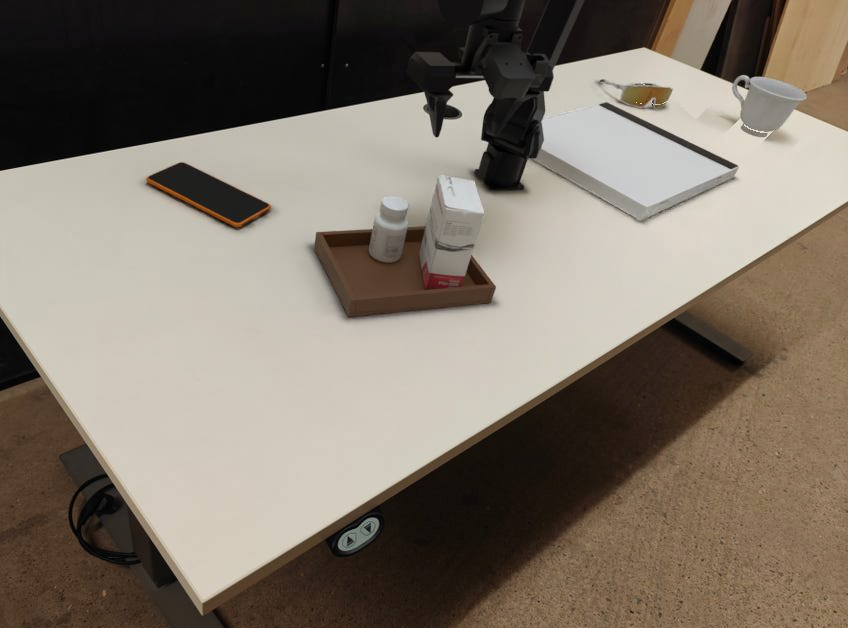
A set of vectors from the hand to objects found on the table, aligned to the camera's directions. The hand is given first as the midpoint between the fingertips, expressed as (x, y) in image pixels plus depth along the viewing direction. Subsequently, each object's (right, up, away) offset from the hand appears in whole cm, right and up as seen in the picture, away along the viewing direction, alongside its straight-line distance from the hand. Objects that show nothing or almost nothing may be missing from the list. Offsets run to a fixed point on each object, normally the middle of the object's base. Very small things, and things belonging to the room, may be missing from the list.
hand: (465, 135), depth 91 cm
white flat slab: (+34, +7, +35) cm, 49 cm away
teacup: (+72, +21, +60) cm, 96 cm away
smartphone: (-36, -8, +2) cm, 37 cm away
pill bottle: (-11, -17, -2) cm, 20 cm away
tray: (-9, -20, -5) cm, 22 cm away
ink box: (-4, -19, -4) cm, 20 cm away
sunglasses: (+48, +30, +64) cm, 86 cm away
